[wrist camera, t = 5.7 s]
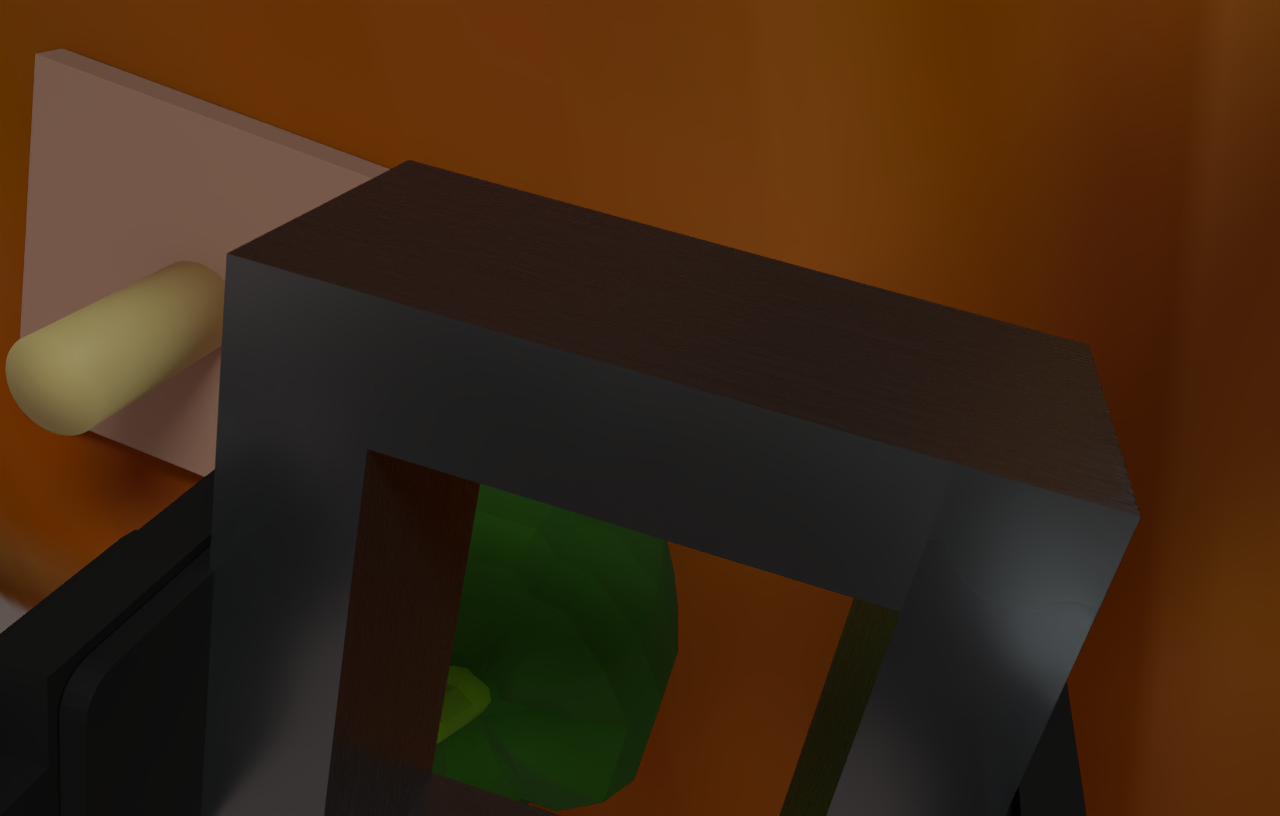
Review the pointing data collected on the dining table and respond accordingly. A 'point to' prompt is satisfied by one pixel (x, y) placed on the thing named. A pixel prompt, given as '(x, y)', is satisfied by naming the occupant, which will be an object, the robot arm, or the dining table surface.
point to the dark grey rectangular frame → (633, 487)
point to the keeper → (145, 250)
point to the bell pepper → (556, 654)
